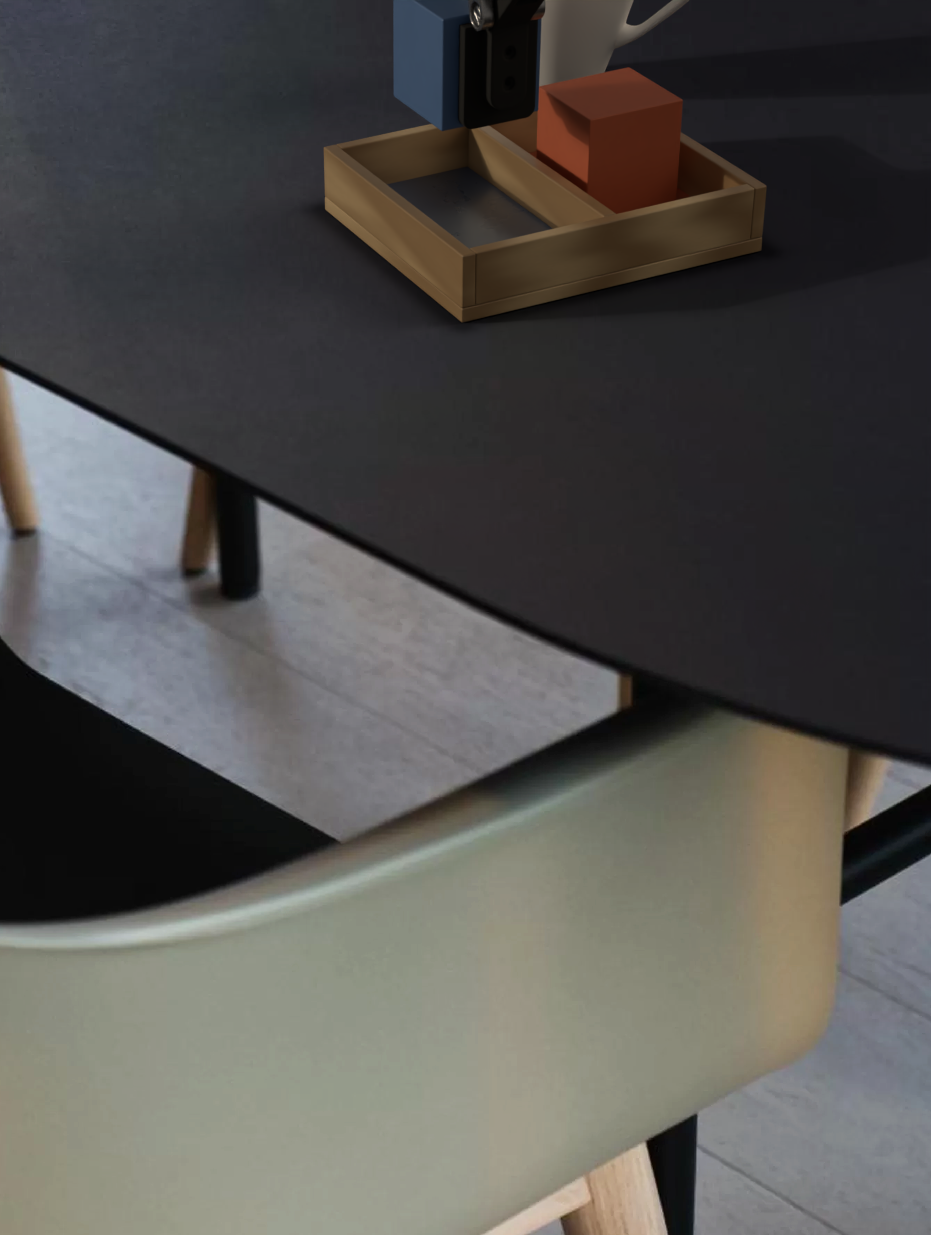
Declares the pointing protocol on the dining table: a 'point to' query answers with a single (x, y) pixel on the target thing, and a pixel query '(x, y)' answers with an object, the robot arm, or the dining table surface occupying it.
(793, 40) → the dining table surface
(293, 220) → the dining table surface
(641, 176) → the terracotta block
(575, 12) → the mug
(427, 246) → the tray
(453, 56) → the blue block
